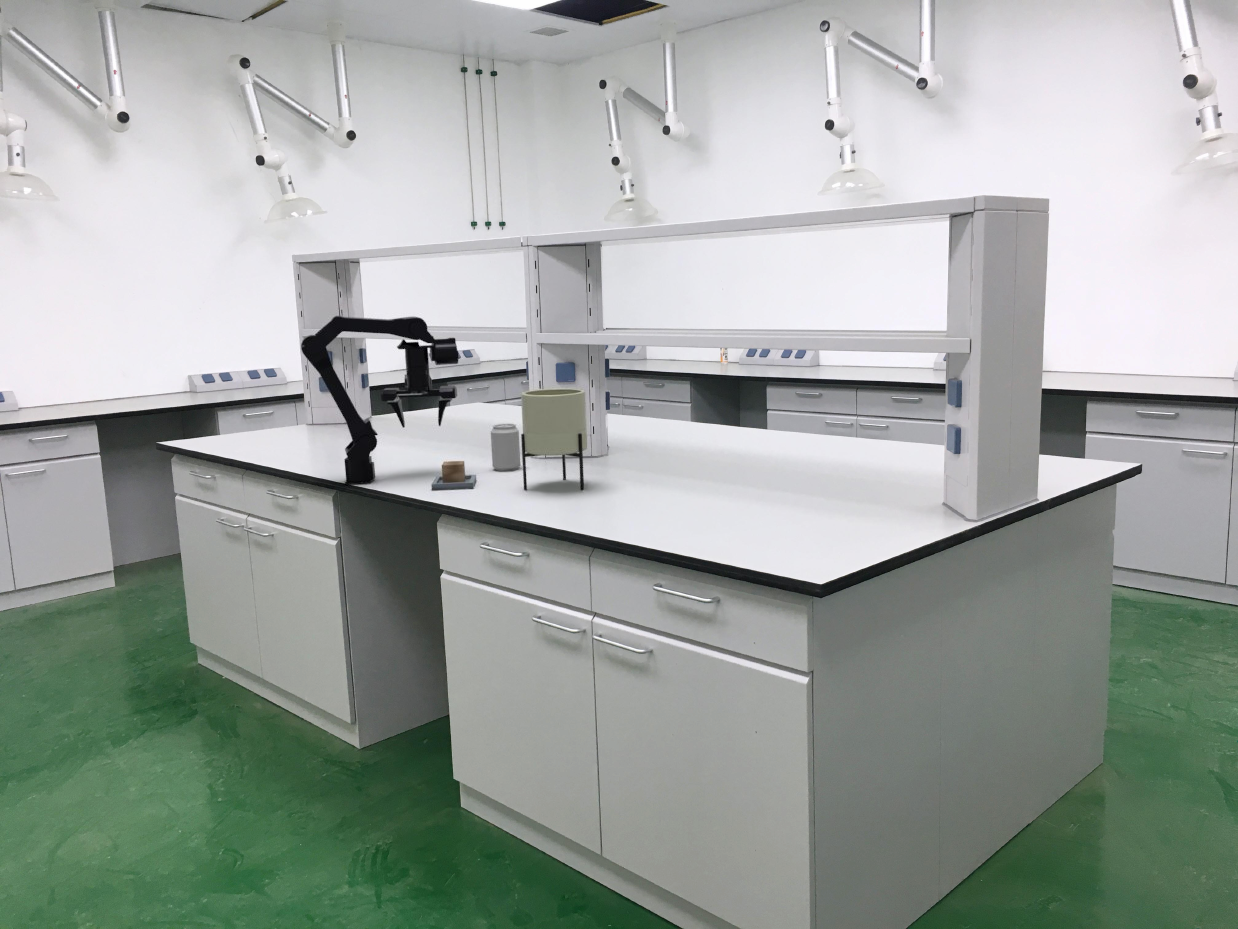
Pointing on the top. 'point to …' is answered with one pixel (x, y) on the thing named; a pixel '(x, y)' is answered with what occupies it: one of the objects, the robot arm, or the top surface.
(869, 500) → the top surface
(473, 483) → the tray
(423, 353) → the robot arm
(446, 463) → the cube
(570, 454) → the planter
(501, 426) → the can
